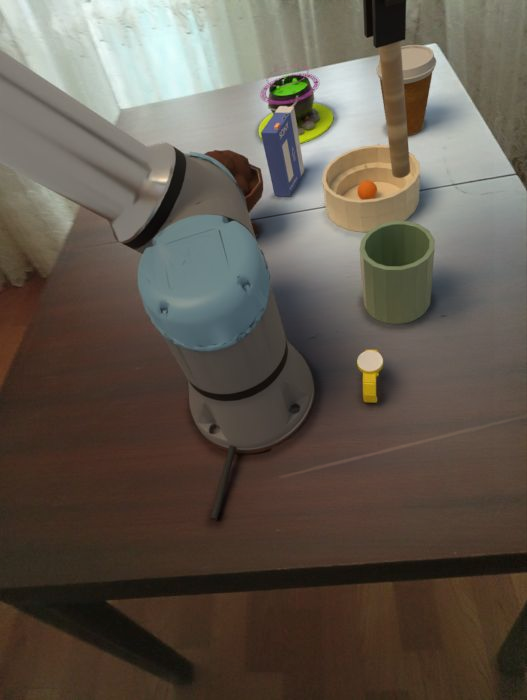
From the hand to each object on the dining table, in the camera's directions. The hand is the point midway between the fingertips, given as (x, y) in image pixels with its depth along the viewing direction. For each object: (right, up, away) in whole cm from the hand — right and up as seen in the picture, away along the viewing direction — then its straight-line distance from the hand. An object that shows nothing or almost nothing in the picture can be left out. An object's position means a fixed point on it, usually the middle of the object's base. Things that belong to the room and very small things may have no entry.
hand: (384, 36), depth 46 cm
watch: (+2, -33, +13) cm, 36 cm away
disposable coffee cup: (+15, +12, +45) cm, 48 cm away
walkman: (-7, 0, +42) cm, 42 cm away
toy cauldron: (-5, +16, +53) cm, 56 cm away
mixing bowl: (+6, -6, +33) cm, 34 cm away
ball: (+5, -4, +32) cm, 33 cm away
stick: (+5, -8, +11) cm, 15 cm away
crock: (+6, -22, +20) cm, 31 cm away
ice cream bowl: (-15, -10, +36) cm, 40 cm away
